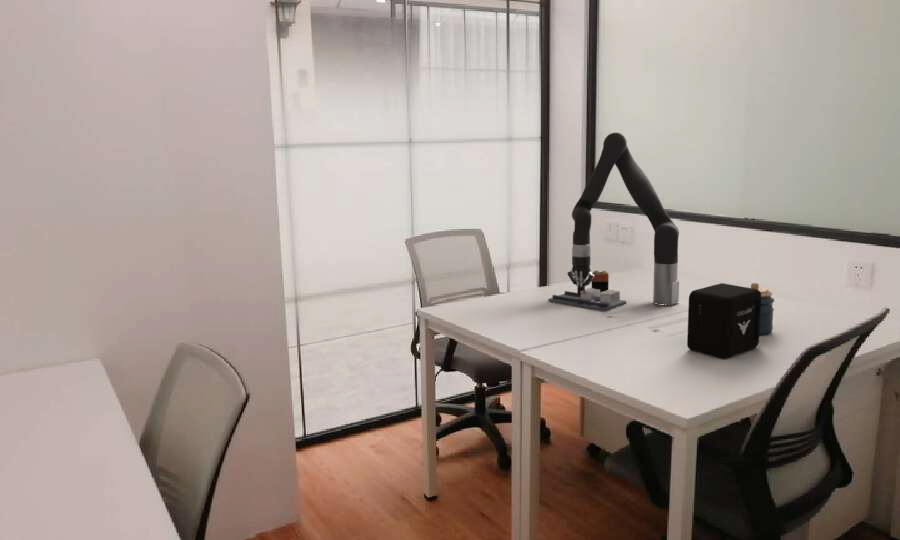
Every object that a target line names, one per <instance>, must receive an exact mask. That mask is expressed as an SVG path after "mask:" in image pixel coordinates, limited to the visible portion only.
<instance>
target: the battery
mask: <svg viewBox="0 0 900 540" xmlns="http://www.w3.org/2000/svg"><path fill="white" fill-rule="evenodd" d="M591 273H592V274H595V277H594V279H593V280H592V281H591V288H593V289H599V290H600V293H601V292H604V291H606V290H609V273H608V271H606V270H602V271H599V270H594V271H593V272H592V271H591Z"/></svg>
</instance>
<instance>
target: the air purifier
mask: <svg viewBox="0 0 900 540" xmlns="http://www.w3.org/2000/svg"><path fill="white" fill-rule="evenodd" d="M747 287H748V286H741V285H740V286H739V285H735V284H734V285H733V284H730V283H722V282H721V283H716V284H713V285H710V286H705V287H702V288H697V289H694V290H692V291H691V292H690V293H689V296H688V307H687V308H688V309H687V312H688V314H687V315H688V317H687V343H686V345H687V348H688V349H689V350H690V351H693V352H694V351H695V352H699V353H702V354H705V355H710V356H714V357H718V358H721V359H729V358H731V357H734V356H737V355H739V354H743V353H745V352H747V351H750V350H753V349H756V348H757V347H758V345H759V343H760V336H759V333H760V314H761V292H760V291H759V290H757V289H752V288H747Z"/></svg>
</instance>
